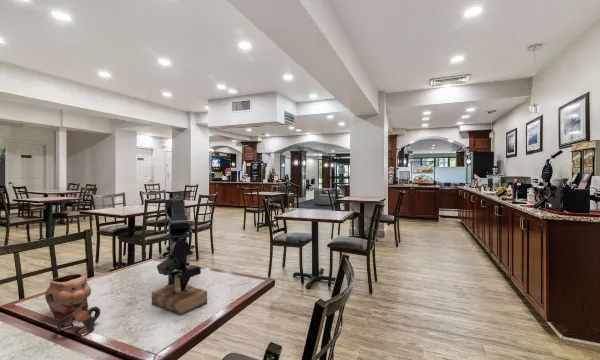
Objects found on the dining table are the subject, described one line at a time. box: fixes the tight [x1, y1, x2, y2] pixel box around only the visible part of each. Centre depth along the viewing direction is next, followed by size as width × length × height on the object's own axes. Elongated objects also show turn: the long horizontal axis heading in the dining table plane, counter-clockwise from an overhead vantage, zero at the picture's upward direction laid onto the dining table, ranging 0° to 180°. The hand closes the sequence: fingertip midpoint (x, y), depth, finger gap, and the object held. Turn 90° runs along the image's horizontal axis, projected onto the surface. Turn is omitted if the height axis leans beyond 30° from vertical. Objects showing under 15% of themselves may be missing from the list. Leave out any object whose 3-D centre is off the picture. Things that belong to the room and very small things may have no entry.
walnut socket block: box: [151, 284, 208, 316], centre depth 116 cm, size 18×12×5 cm, turn 58°
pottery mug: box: [55, 306, 101, 335], centre depth 97 cm, size 12×10×8 cm
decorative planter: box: [44, 273, 92, 321], centre depth 107 cm, size 20×12×14 cm, turn 66°
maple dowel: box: [175, 274, 184, 294], centre depth 116 cm, size 4×4×9 cm
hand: (179, 290), depth 116 cm, fingers closed on maple dowel, 3 cm apart
